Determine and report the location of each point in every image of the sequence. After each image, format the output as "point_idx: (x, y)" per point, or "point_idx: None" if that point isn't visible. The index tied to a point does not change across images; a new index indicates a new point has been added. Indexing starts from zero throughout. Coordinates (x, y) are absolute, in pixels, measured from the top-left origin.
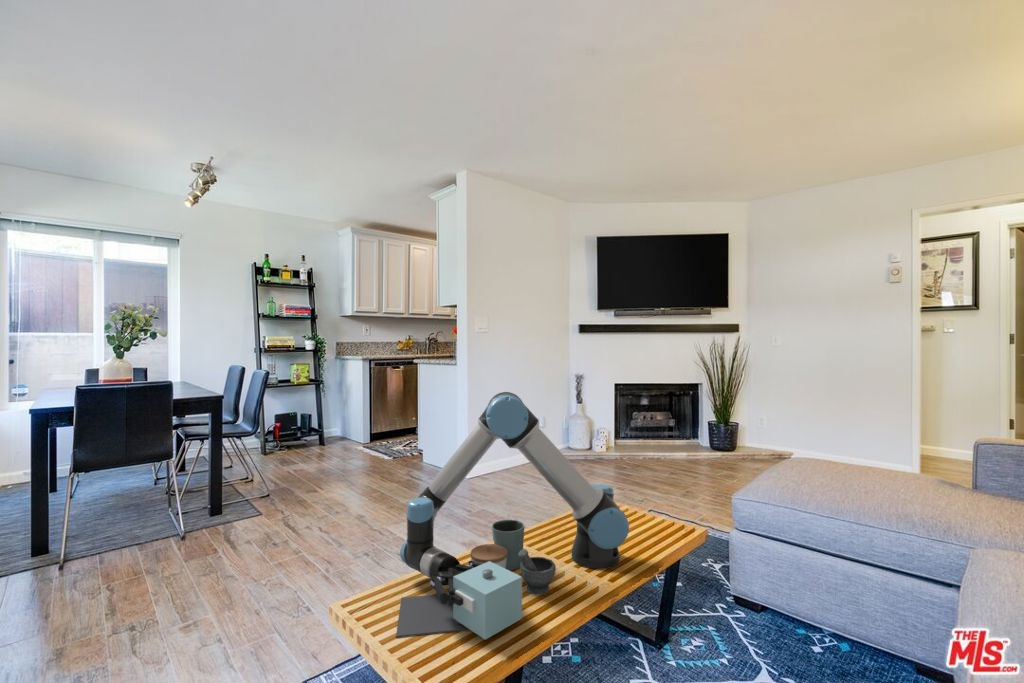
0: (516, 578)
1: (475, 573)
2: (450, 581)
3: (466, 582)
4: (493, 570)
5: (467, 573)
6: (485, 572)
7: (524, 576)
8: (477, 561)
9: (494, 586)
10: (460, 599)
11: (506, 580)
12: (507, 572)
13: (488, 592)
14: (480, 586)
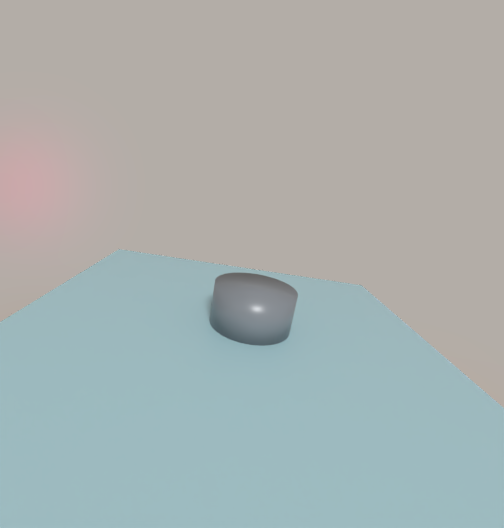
0: (151, 256)
1: (310, 404)
2: None
3: (449, 373)
4: (125, 332)
5: (413, 481)
6: (279, 289)
7: None
8: None
9: (289, 282)
10: None
11: (201, 269)
12: (106, 279)
13: (341, 283)
14: (357, 309)
